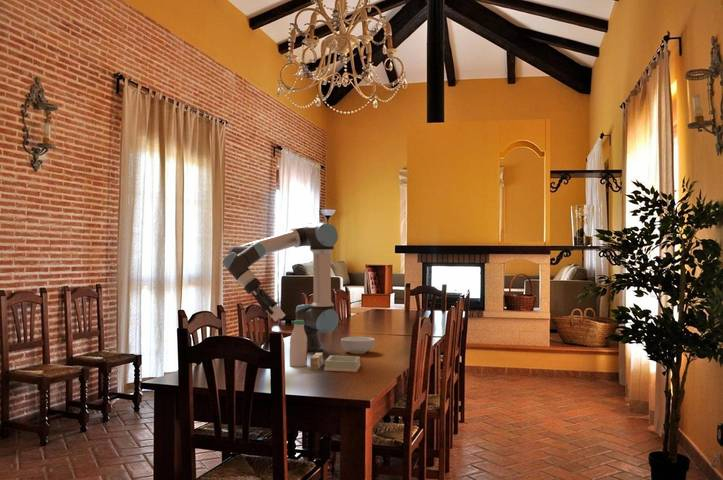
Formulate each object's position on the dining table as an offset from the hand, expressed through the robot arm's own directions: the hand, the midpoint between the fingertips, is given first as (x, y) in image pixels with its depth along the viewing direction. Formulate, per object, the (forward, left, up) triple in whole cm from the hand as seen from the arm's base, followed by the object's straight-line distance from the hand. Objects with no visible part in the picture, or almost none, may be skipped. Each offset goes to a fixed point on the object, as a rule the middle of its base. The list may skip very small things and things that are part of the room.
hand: (280, 318), depth 266 cm
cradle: (+1, +28, -20) cm, 35 cm away
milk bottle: (0, +8, -21) cm, 22 cm away
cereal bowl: (-39, +30, -21) cm, 53 cm away
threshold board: (+1, +17, -20) cm, 27 cm away
